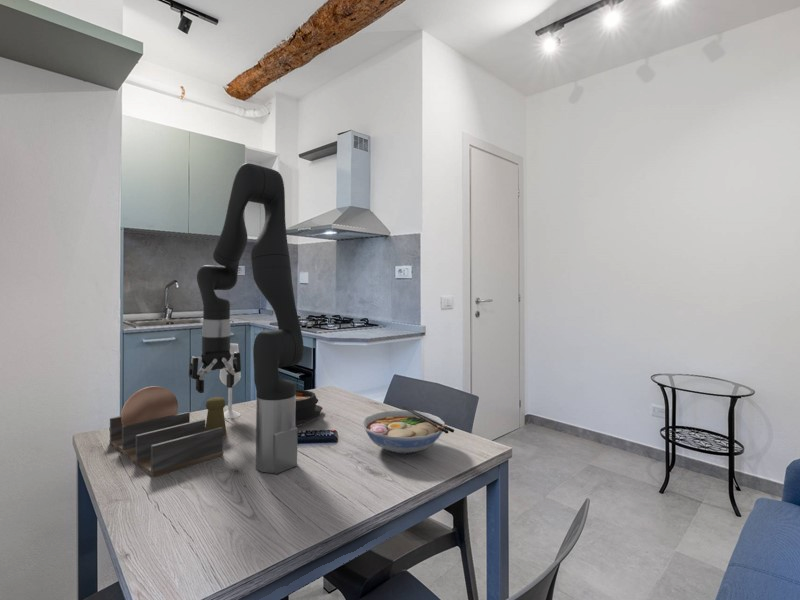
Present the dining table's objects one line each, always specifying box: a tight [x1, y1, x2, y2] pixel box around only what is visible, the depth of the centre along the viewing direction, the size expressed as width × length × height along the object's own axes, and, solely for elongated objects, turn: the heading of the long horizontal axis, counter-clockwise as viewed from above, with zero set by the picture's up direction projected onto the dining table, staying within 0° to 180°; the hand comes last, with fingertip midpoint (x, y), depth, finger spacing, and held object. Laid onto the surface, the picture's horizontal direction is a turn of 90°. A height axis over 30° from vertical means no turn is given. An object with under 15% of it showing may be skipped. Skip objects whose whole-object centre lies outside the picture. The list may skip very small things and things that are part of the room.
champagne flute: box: [218, 342, 242, 420], centre depth 137 cm, size 7×7×24 cm
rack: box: [109, 385, 224, 478], centre depth 108 cm, size 30×16×15 cm, turn 51°
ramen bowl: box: [361, 405, 455, 455], centre depth 112 cm, size 25×23×8 cm
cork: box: [205, 396, 227, 438], centre depth 119 cm, size 6×6×11 cm
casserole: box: [295, 389, 323, 426], centre depth 134 cm, size 25×19×8 cm
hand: (215, 389), depth 119 cm, fingers open, 8 cm apart
